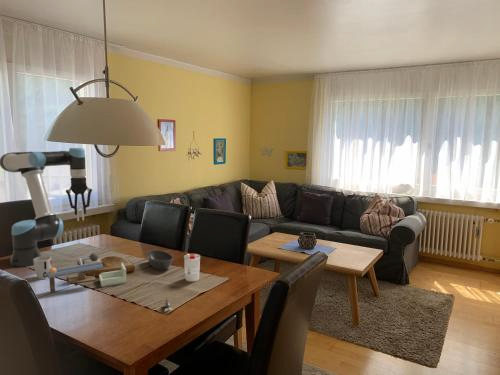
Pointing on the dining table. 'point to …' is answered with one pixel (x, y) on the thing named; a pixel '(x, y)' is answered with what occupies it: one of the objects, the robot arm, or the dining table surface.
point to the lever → (78, 267)
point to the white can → (192, 267)
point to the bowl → (159, 259)
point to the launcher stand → (73, 279)
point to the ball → (52, 270)
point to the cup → (42, 266)
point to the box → (113, 277)
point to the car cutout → (167, 306)
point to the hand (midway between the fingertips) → (80, 220)
